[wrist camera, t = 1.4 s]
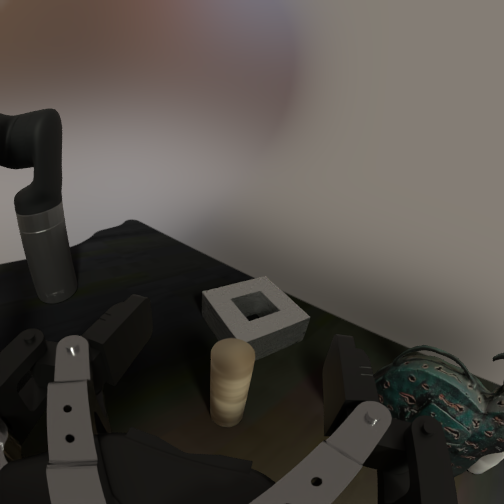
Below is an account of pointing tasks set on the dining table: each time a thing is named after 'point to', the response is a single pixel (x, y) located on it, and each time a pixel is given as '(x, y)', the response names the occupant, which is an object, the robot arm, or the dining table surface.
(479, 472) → the bottle
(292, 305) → the socket block
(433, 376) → the ceramic cat
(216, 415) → the wooden peg
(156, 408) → the dining table surface
